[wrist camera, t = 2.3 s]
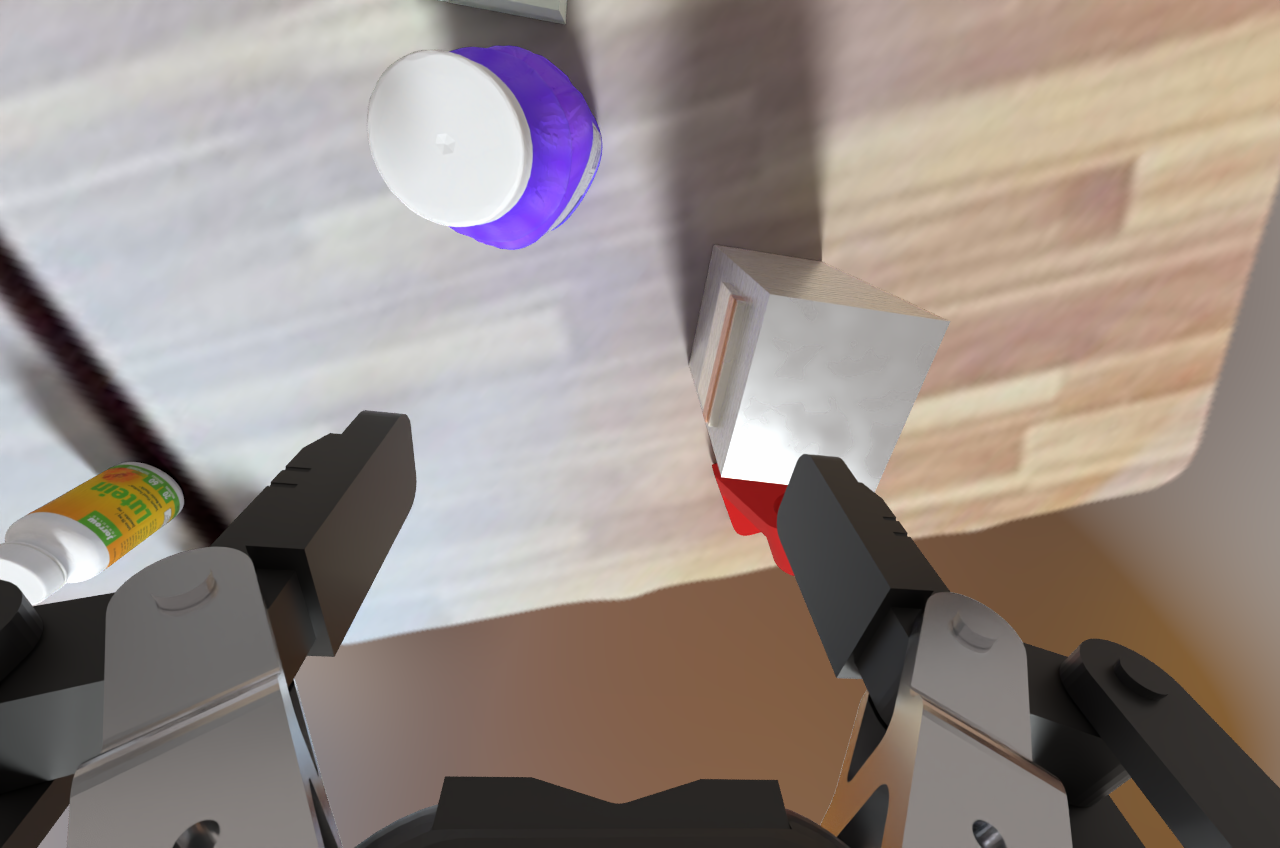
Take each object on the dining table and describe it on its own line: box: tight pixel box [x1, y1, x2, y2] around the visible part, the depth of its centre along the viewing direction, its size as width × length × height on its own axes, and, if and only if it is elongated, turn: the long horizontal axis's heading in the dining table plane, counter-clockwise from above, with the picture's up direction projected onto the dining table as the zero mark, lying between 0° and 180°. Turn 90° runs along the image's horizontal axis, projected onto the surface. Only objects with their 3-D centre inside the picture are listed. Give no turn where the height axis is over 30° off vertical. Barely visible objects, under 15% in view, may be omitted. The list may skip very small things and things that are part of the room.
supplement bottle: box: [0, 462, 184, 605], centre depth 34 cm, size 5×5×10 cm
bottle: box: [367, 46, 602, 250], centre depth 20 cm, size 7×6×17 cm
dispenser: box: [689, 245, 950, 492], centre depth 26 cm, size 8×8×14 cm
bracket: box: [712, 463, 794, 576], centre depth 34 cm, size 9×6×10 cm
